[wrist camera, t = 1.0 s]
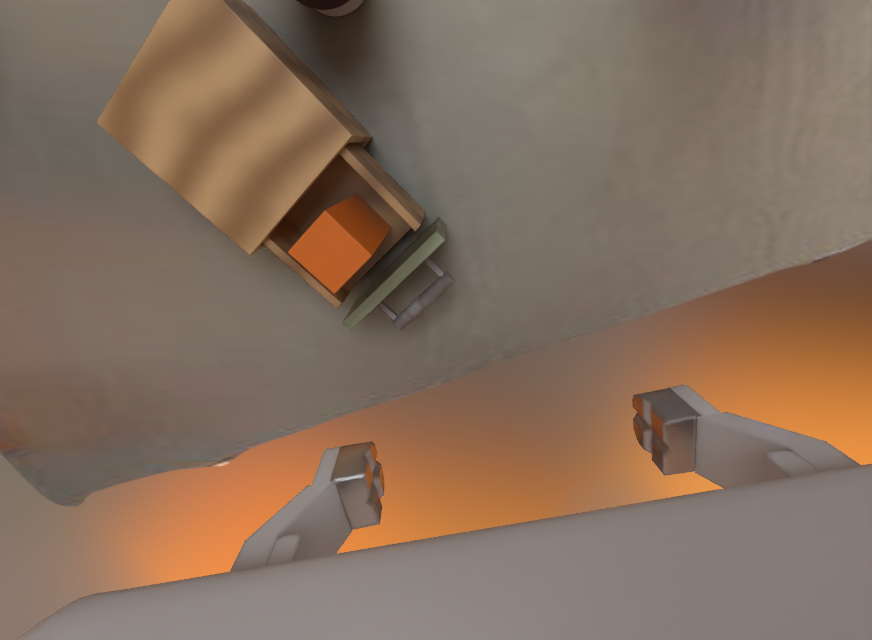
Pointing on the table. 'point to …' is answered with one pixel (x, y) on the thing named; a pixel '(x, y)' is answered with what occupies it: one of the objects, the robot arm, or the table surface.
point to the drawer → (402, 213)
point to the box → (340, 241)
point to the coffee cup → (333, 6)
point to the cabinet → (228, 116)
